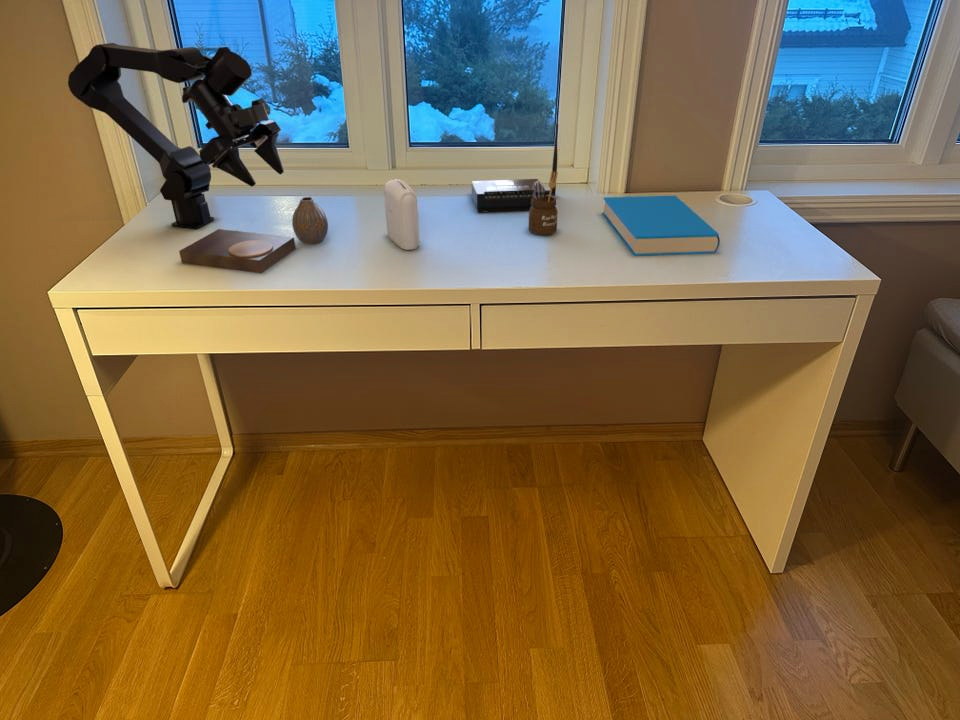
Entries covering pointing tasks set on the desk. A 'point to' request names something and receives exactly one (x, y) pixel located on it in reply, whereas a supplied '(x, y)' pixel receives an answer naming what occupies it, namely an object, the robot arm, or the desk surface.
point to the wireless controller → (510, 191)
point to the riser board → (238, 250)
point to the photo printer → (401, 214)
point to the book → (659, 226)
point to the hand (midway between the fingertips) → (268, 179)
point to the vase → (309, 222)
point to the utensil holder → (543, 212)
